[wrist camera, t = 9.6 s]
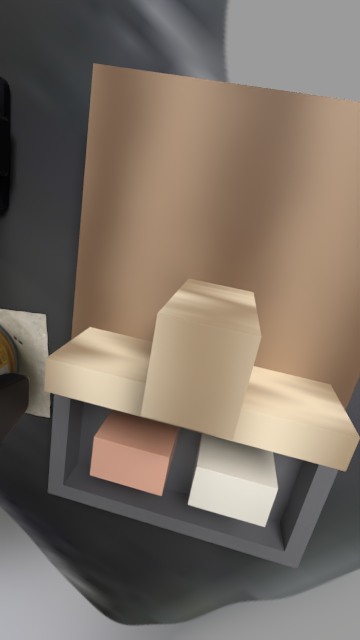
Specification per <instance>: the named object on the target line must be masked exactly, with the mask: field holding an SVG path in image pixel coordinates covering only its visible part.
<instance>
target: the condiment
mask: <svg viewBox="0 0 360 640" xmlns="http://www.w3.org/2000/svg"><path fill="white" fill-rule="evenodd" d="M14 336H15V337H16V338H17V340H15V339H14ZM18 340H20V341H21V342H22V343H23V345H21V344H20V343H19V342H18ZM47 342H48V337H47V328H46V315H45V314H36V313H29V312H21V311H12V310H6V309H0V375H2V374H7V373H12V372H14V373H19V374H22V375H26V376H27V377H28V378H29V380H30V386H29V404H28V408H27V410H26V412H25V413H29V414H33V415H36V416H43V417H49V418H50V392H46V391H44V386H45V367H46V358H47V357H48V356H49V355H48V345H47Z"/></svg>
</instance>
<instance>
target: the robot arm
mask: <svg viewBox="0 0 360 640" xmlns="http://www.w3.org/2000/svg"><path fill="white" fill-rule="evenodd" d="M9 96H10V90H9V85H8V83H7V81H6V80H5V79H4V78H2V77H0V210H4V209H6V208H7V206H8V177H9V142H10V123H9ZM29 386H30V380H29V378H28V377H27V376H26V375H22V374H19V373H14V372H12V373H7V374H2V375H0V446H1V444H2V443H3V442H4V440H5V439H6V438H7V436H8V435H9V434H10V432H11V431H12V430H13V428H14V427H15V425H16V424H17V423H18V421H19V420H20V419H21V417H22V416H23V415H24V413H25V412H26V410H27V408H28V404H29Z"/></svg>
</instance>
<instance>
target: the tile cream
mask: <svg viewBox="0 0 360 640" xmlns="http://www.w3.org/2000/svg"><path fill="white" fill-rule="evenodd" d="M277 491H278V484H277V477H276V470H275V463H274V455H273V452H271V451H267V450H264V449H260V448H256V447H252V446H249V445H245V444H241V443H237V442H234V441H230V440H226V439H222V438H219V437H215V436H211V435H207V434H204V433H202V435H201V439H200V444H199V448H198V452H197V457H196V463H195V468H194V473H193V479H192V484H191V489H190V495H189V500H188V505H190V506H194V507H197V508H201V509H204V510H208V511H211V512H214V513H218V514H221V515H225V516H228V517H232V518H235V519H239V520H242V521H245V522H249V523H252V524H256V525H259V526H263V527H265V525H266V522H267V520H268V517H269V514H270V511H271V508H272V505H273V502H274V499H275V497H276V494H277Z"/></svg>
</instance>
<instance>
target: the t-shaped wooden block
mask: <svg viewBox="0 0 360 640" xmlns="http://www.w3.org/2000/svg"><path fill="white" fill-rule="evenodd" d="M260 341H261V331H260V325H259V320H258V314H257V309H256V303H255V297H254V292H250V291H245V290H240V289H236V288H231V287H226V286H222V285H217V284H212V283H208V282H203V281H198V280H194V279H188V280H187V281H186V282H185V283H184V284H183V285H182V286H181V288H180V289H179V290H178V291H177V292H176V293H175V294H174V295H173V296H172V298H171V299H170V300H169V301H168V302H167V303H166V304H165V305H164V306H163V308H162V309H161V310H160V311H159V312H158V313H157V319H156V325H155V331H154V337H153V342H151V341H147V340H142V339H138V338H134V337H130V336H126V335H121V334H117V333H113V332H109V331H105V330H100V329H96V328H92V327H89V328H88V329H86V330H85V331H84V332H82V333H81V334H79V335H78V336H77V337H75V338H74V339H72V340H71V341H69V342H68V343H67V344H65V345H64V346H62V347H61V348H60V349H58V350H57V351H55V352H54V353H52V354H51V355H50V356H48V357H47V358H46V367H45V386H44V391H46V392H50V393H54V394H57V395H61V396H65V397H69V398H72V399H76V400H80V401H84V402H87V403H91V404H95V405H99V406H102V407H106V408H110V409H114V410H117V411H121V412H125V413H129V414H132V415H136V416H140V417H144V418H147V419H151V420H155V421H159V422H162V423H166V424H170V425H174V426H177V427H181V428H185V429H189V430H192V431H196V432H200V433H204V434H207V435H211V436H215V437H219V438H222V439H226V440H230V441H234V442H237V443H241V444H245V445H249V446H252V447H256V448H260V449H264V450H267V451H271V452H275V453H279V454H282V455H286V456H290V457H294V458H297V459H301V460H305V461H309V462H312V463H316V464H320V465H324V466H327V467H331V468H335V469H339V470H342V471H346V469H347V467H348V465H349V462H350V460H351V458H352V455H353V453H354V451H355V448H356V446H357V444H358V441H359V439H360V437H359V435H358V433H357V432H356V430H355V428H354V426H353V424H352V422H351V421H350V419H349V417H348V415H347V413H346V412H345V410H344V408H343V406H342V404H341V402H340V401H339V399H338V397H337V395H336V393H335V391H334V390H333V388H332V386H331V384H326V383H322V382H318V381H314V380H310V379H305V378H301V377H297V376H293V375H289V374H285V373H280V372H276V371H272V370H268V369H264V368H259V367H255V366H254V362H255V359H256V355H257V351H258V348H259V344H260Z"/></svg>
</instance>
